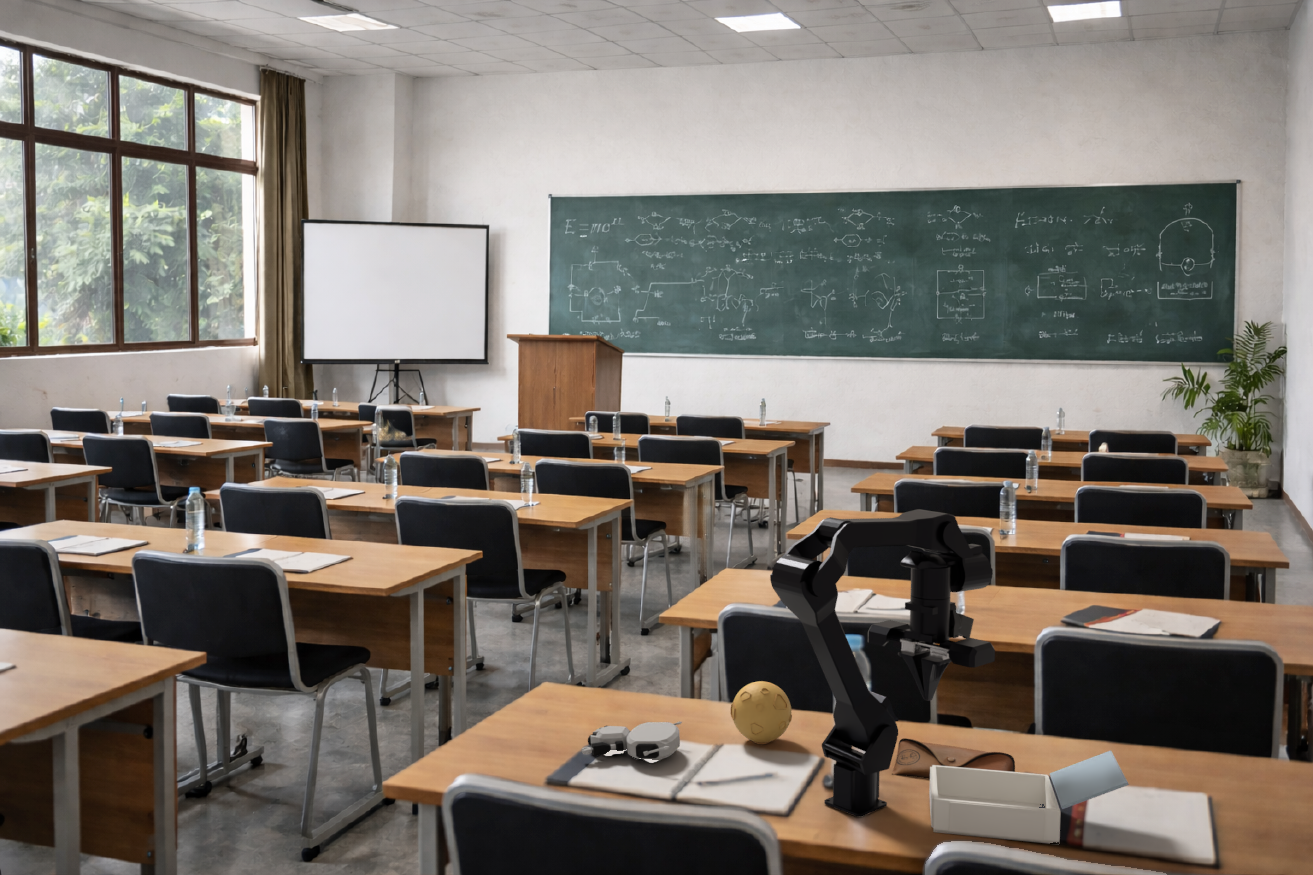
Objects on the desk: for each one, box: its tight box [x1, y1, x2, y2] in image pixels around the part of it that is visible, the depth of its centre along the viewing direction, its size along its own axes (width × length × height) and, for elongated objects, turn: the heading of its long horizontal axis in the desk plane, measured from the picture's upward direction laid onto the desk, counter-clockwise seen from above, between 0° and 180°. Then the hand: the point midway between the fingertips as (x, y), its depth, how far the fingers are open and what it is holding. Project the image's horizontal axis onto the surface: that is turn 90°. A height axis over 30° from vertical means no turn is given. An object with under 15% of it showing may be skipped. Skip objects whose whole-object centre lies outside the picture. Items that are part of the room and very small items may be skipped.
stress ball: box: [730, 680, 793, 745], centre depth 182 cm, size 10×10×10 cm
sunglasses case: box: [891, 738, 1016, 780], centre depth 169 cm, size 18×7×7 cm, turn 68°
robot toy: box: [581, 721, 683, 761], centre depth 176 cm, size 12×4×15 cm
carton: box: [928, 765, 1061, 844], centre depth 152 cm, size 16×14×4 cm
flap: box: [1048, 750, 1130, 810], centre depth 149 cm, size 1×12×9 cm
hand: (927, 699), depth 163 cm, fingers closed
